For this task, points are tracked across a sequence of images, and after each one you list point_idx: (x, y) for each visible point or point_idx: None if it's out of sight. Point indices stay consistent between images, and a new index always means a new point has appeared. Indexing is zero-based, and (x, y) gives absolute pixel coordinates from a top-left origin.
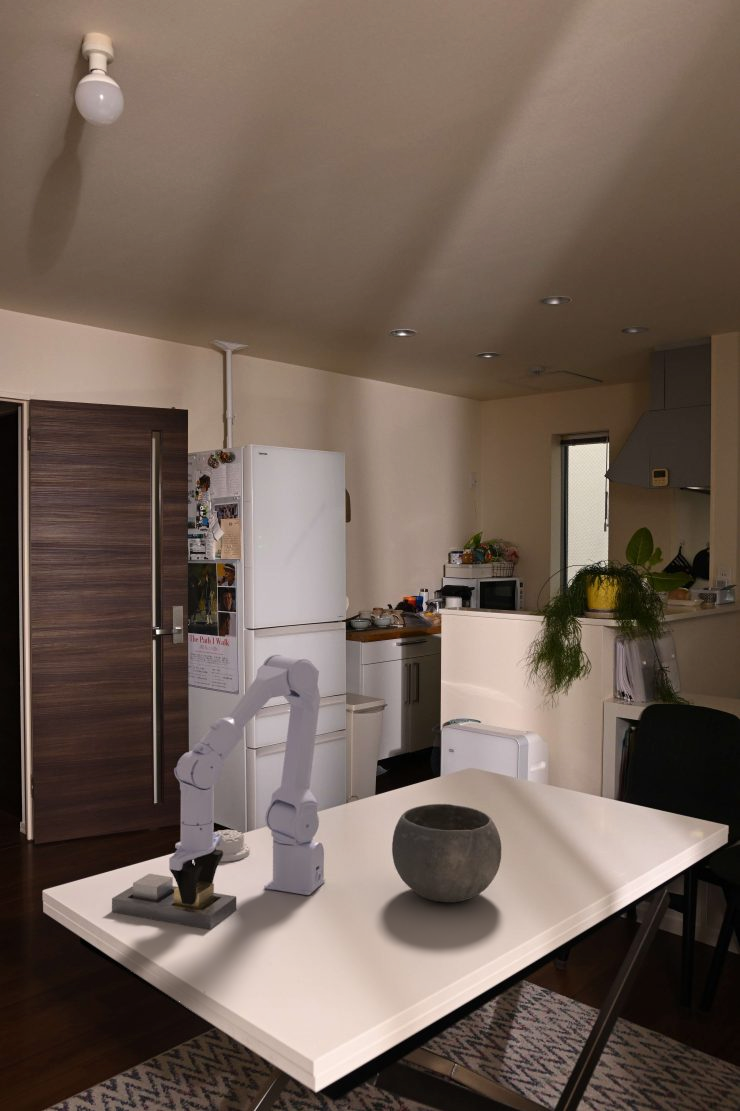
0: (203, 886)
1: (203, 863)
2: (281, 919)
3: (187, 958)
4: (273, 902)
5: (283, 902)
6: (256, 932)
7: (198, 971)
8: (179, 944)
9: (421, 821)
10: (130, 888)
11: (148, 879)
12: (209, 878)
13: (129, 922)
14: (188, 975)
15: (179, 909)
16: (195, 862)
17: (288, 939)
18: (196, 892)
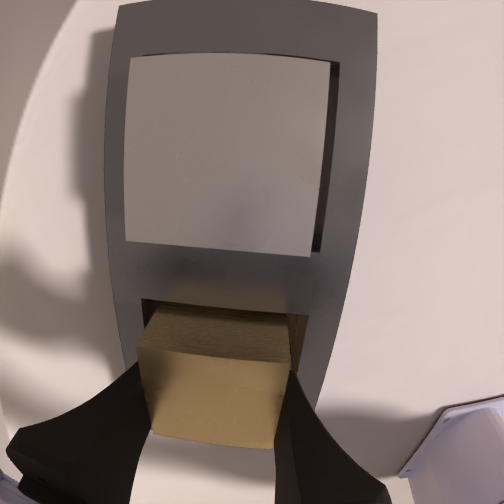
0: (226, 432)
1: (283, 493)
2: (270, 480)
3: (33, 382)
4: (362, 451)
5: (363, 461)
6: (191, 463)
7: (23, 402)
8: (55, 355)
9: None
10: (261, 2)
11: (220, 112)
12: (275, 452)
13: (82, 146)
14: (8, 391)
15: (124, 344)
16: (293, 468)
17: (190, 492)
18: (156, 426)
